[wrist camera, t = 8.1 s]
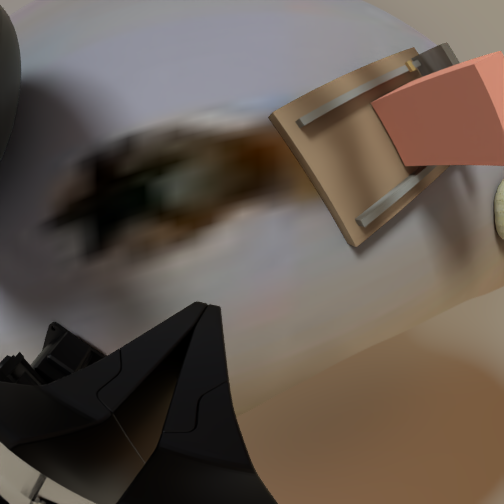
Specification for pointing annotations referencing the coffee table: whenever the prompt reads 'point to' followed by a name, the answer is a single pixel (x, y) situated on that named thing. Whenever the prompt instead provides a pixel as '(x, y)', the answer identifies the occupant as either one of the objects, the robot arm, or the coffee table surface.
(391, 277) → the coffee table surface
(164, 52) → the coffee table surface
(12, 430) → the robot arm
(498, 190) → the sea urchin shell
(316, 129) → the base
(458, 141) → the salmon pink rectangular block
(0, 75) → the bowl of black rocks
